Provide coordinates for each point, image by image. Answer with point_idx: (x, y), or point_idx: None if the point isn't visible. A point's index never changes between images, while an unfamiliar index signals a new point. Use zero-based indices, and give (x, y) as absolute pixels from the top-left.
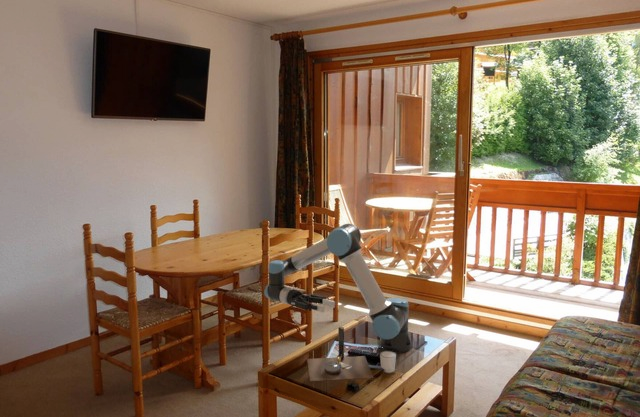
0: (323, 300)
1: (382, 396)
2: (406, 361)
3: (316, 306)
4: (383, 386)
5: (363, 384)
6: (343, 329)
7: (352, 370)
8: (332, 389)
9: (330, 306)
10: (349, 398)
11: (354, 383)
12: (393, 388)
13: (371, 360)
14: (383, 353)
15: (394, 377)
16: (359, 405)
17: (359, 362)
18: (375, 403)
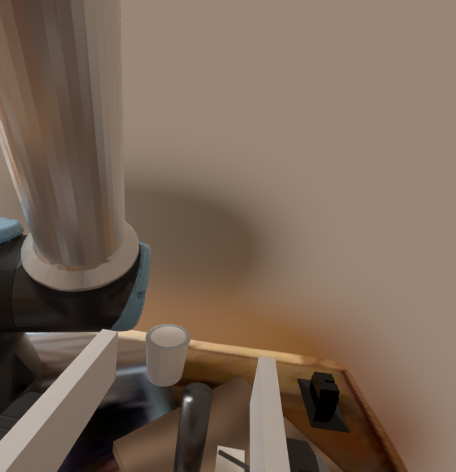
0: (18, 470)
1: (280, 354)
2: None
3: (290, 442)
4: (246, 362)
5: None
6: (198, 386)
7: (241, 434)
8: (356, 456)
9: (95, 406)
10: (343, 400)
11: (322, 378)
12: (240, 347)
13: (117, 427)
14: (166, 344)
15: (196, 354)
16: (341, 376)
17: (175, 437)
18: (310, 357)
